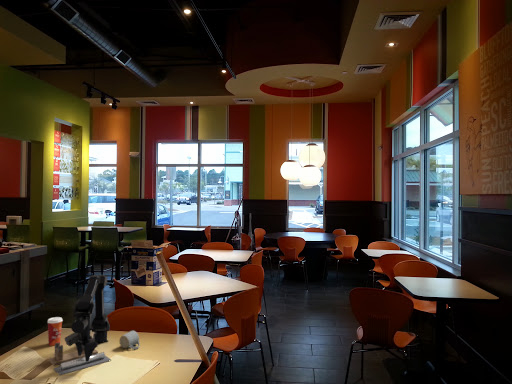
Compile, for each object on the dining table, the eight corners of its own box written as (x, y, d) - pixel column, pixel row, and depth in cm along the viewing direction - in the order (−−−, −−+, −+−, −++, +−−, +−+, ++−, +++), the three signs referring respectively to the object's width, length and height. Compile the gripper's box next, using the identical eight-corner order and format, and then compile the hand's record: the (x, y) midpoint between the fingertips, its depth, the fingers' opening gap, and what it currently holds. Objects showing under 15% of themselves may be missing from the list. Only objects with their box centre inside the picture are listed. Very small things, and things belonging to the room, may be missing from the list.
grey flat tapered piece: (103, 355, 195) (103, 354, 195) (111, 360, 188) (111, 359, 188) (53, 369, 177) (53, 368, 177) (60, 375, 171) (60, 374, 171)
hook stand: (91, 350, 202) (92, 334, 202) (97, 354, 196) (98, 337, 196) (49, 361, 187) (49, 343, 187) (54, 366, 181) (55, 348, 181)
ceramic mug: (118, 347, 205) (118, 333, 205) (129, 342, 213) (129, 329, 213) (132, 351, 201) (133, 337, 201) (143, 346, 208) (143, 332, 208)
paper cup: (55, 347, 205) (56, 321, 205) (43, 345, 206) (44, 320, 207) (65, 342, 213) (66, 317, 213) (53, 340, 214) (54, 316, 215)
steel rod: (102, 357, 191) (102, 351, 191) (104, 359, 189) (105, 353, 189) (60, 368, 177) (60, 362, 177) (62, 371, 175) (62, 364, 175)
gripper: (60, 325, 184) (59, 357, 184) (74, 334, 171) (73, 369, 171) (83, 320, 192) (82, 351, 192) (98, 329, 179) (97, 362, 179)
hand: (83, 358), depth 183 cm, fingers open, 9 cm apart
